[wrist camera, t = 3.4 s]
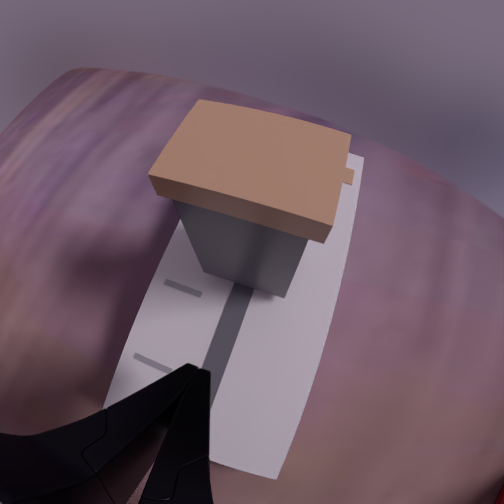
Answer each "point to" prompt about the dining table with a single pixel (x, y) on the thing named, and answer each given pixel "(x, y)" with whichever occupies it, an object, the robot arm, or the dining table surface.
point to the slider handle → (252, 190)
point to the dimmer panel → (242, 340)
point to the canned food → (500, 497)
